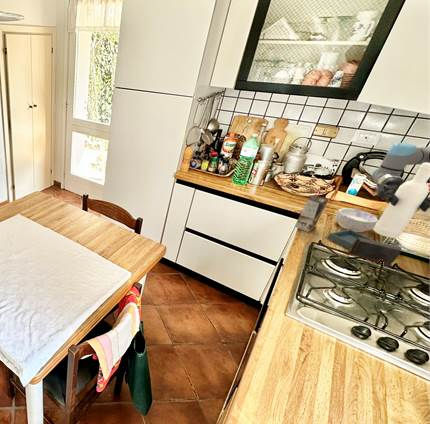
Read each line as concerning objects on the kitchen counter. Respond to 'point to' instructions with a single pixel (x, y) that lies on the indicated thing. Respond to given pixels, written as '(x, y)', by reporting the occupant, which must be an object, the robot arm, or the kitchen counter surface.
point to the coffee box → (311, 213)
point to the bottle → (404, 204)
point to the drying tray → (346, 238)
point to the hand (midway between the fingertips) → (410, 205)
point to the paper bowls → (355, 219)
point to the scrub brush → (375, 251)
